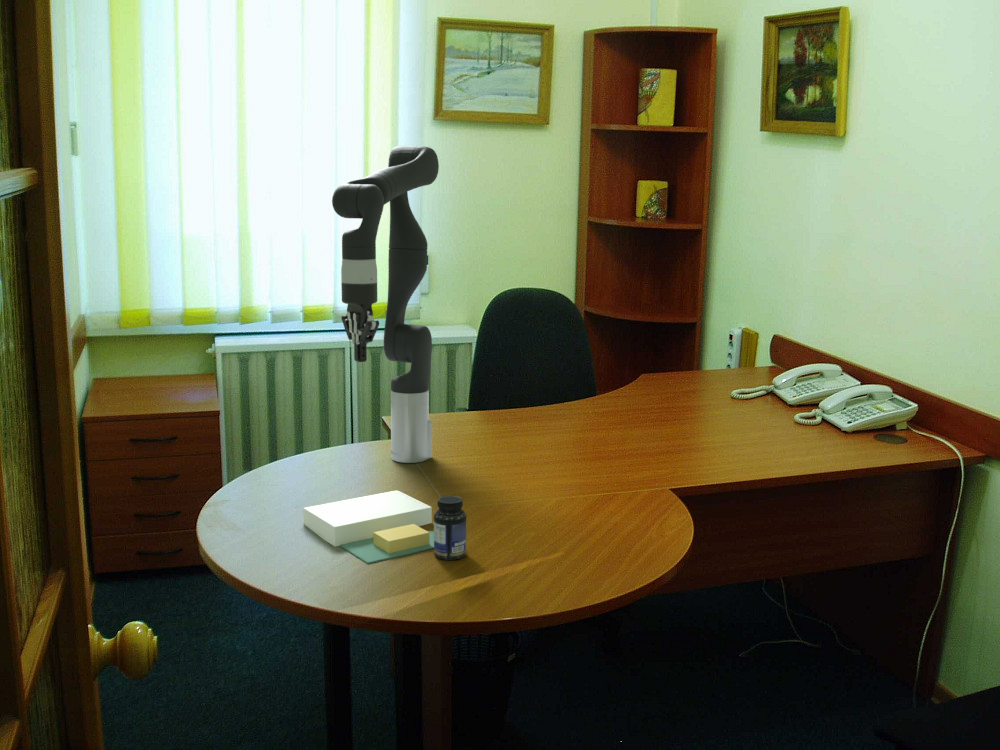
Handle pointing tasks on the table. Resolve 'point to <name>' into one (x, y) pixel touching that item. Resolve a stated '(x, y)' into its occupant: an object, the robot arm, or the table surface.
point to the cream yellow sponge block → (401, 538)
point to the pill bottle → (450, 529)
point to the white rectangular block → (365, 516)
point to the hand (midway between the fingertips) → (360, 361)
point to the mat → (374, 554)
